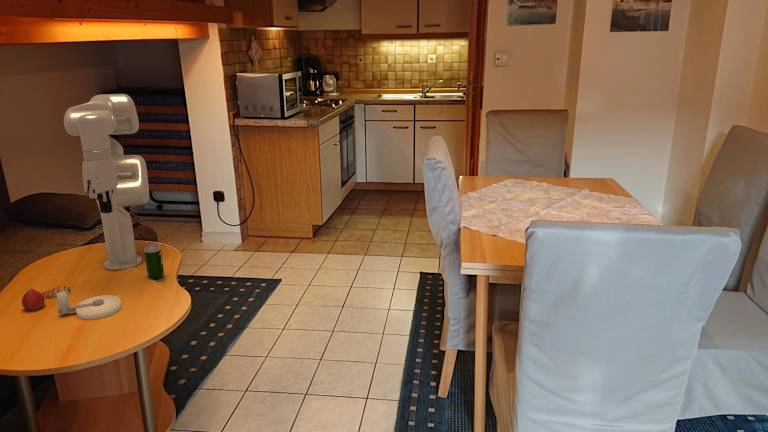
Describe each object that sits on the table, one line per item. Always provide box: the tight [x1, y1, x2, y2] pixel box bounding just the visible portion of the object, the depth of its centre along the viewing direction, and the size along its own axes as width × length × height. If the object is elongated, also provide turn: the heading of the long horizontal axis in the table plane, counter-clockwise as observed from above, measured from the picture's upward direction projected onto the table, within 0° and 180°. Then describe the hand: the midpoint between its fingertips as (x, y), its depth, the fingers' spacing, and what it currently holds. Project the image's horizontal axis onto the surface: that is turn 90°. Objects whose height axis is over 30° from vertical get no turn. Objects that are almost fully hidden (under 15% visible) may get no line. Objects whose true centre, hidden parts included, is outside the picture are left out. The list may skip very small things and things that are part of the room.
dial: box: [56, 292, 122, 321], centre depth 162 cm, size 16×12×7 cm
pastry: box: [41, 284, 71, 300], centre depth 174 cm, size 9×7×4 cm
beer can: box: [143, 243, 165, 283], centre depth 186 cm, size 5×5×12 cm
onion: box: [21, 287, 46, 312], centre depth 164 cm, size 6×6×8 cm
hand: (106, 212), depth 171 cm, fingers closed
